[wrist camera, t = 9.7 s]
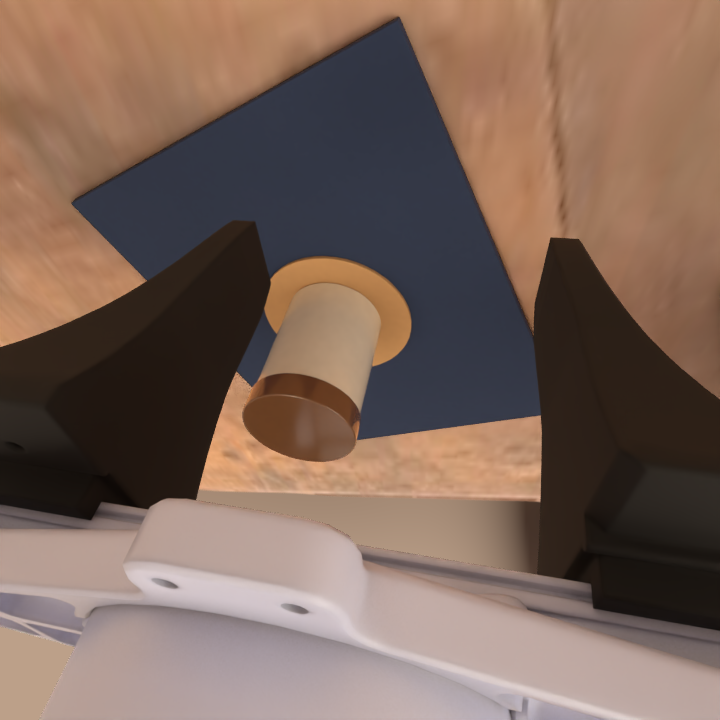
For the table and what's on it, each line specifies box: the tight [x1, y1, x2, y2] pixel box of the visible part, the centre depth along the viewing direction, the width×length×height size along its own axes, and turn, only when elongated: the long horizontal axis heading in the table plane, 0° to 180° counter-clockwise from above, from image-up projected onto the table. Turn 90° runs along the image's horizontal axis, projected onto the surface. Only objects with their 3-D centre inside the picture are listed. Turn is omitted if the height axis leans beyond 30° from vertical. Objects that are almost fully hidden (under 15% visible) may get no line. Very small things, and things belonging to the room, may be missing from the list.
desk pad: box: [71, 17, 541, 440], centre depth 28 cm, size 22×18×1 cm
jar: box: [242, 283, 381, 462], centre depth 26 cm, size 5×5×7 cm
